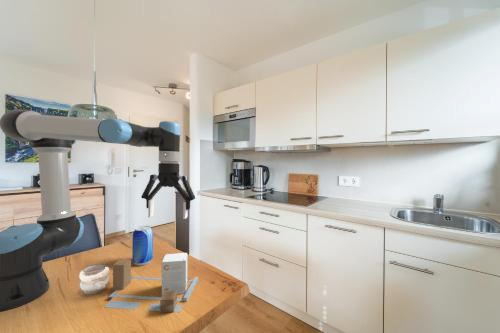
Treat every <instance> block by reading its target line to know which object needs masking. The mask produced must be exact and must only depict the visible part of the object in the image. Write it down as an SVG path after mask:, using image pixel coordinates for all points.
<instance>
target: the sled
mask: <svg viewBox="0 0 500 333" xmlns="http://www.w3.org/2000/svg"><path fill="white" fill-rule="evenodd" d="M131 261H132V259H119V260H118V261H116V262H115V263H113V264H112V293H110V294H109V295H108V297H107V300H108V301H112V299H113V298H124V299H125V298H126V299H140V300H142V299H143V300H152V301H153V300H158V301H160V300H161V297H162V296H161V297H160V296H159V297H158V296H145V295H143V296H142V295H126V294H117V293H118V291H119V290H125V289H126V288H127V287H128V286H130V284H131V281H132V279H136V280H152V281H162V277H148V276H131V274H132V266H131V265H132V264H131V263H132V262H131ZM189 282H190V283H191V284H190V286H189V287H188V289H186V293H184V296H183V298H178V297H177V302H188V300H189V299H190V296H191V295H192V293H193V291H194V289H195V287H196V285H197V283H198V282H199V277H198V276H195V277H193V279H187V283H189Z"/></svg>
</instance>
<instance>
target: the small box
mask: <svg viewBox="0 0 500 333" xmlns="http://www.w3.org/2000/svg"><path fill="white" fill-rule="evenodd" d="M161 278H162V280H161V296H162V295H163V293H164V292H170V291H177V295H183V294H184V295H185V294H186V292H187V287H188V282H187V280H188V252H179V253H167V254H166V253H165V255H164V257H163V259H162V261H161Z"/></svg>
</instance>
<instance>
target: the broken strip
mask: <svg viewBox="0 0 500 333" xmlns="http://www.w3.org/2000/svg"><path fill="white" fill-rule="evenodd" d="M140 304H141V302H136V301H135V302H134V301H122V300H121V301H120V300H119V301H118V300H110V301H109V302H108V303H107V304H106V305H105V306H104V308H106V309H107V308H108V309H109V308H110V309H122V310H124V309H125V310H136V309H137V308H138V307H139V306H140ZM183 306H184V305H182V304H176V307H175V310H174V312H173V313H180V312H181V310H182V308H183ZM147 311H154V312H155V311H157V312H160V303H154V302H153V303H152V304H151V305H150V306H149V308H147Z"/></svg>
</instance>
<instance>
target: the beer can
mask: <svg viewBox="0 0 500 333" xmlns="http://www.w3.org/2000/svg"><path fill="white" fill-rule="evenodd" d="M131 255H132V259H131V261H132V262H131V263H133V264H134V265H135V266H139V267H140V266H141V267H142V266H145V265H148V264H150V263H151V261H152V260H153V257H154V231H153V229H152V226H150V225H141V226H137V227H135V228H134V230H133V232H132V254H131Z"/></svg>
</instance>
